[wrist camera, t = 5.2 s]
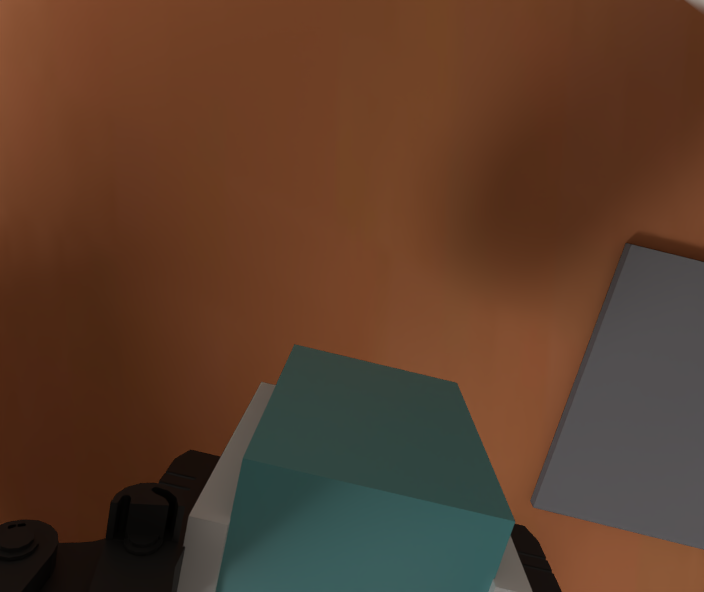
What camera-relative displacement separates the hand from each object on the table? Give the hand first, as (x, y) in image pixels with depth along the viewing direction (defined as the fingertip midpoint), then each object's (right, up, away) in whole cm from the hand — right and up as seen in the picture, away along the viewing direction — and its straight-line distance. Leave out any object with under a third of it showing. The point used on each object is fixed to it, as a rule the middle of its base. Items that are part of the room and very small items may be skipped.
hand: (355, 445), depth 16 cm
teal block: (0, 0, 0) cm, 0 cm away
